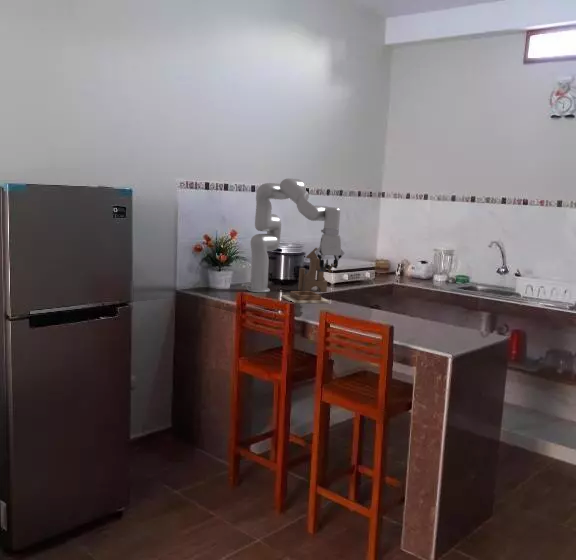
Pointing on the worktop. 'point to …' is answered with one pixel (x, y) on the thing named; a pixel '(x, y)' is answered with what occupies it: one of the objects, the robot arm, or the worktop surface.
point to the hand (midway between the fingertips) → (328, 267)
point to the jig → (305, 297)
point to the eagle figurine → (326, 267)
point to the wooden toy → (312, 275)
